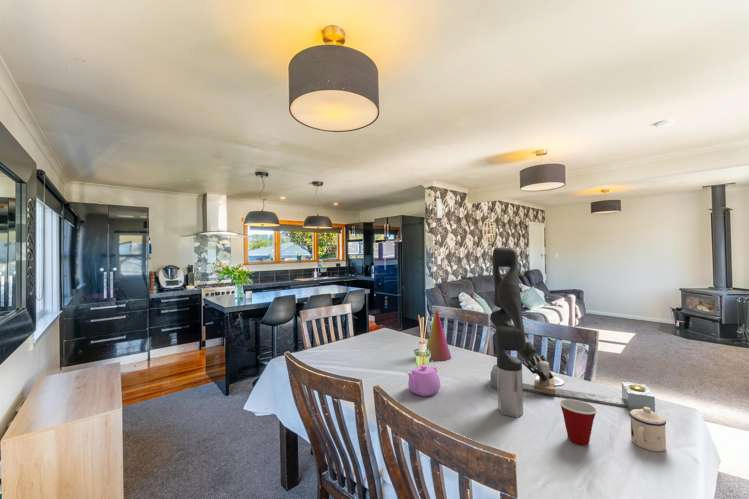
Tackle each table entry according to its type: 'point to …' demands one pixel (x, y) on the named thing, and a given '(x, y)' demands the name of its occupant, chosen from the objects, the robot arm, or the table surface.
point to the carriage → (547, 385)
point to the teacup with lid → (648, 429)
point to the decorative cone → (438, 341)
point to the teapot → (424, 380)
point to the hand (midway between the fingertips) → (548, 379)
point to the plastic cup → (578, 420)
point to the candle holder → (553, 379)
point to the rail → (631, 395)
